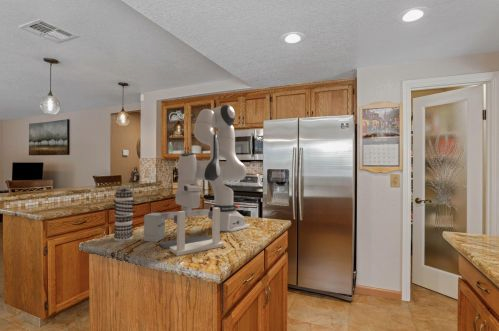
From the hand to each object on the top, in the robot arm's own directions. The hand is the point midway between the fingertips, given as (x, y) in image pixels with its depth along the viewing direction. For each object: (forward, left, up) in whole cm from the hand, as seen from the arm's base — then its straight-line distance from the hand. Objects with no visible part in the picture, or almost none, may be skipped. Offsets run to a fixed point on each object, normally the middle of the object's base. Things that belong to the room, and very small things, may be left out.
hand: (186, 215), depth 126 cm
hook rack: (0, +11, -13) cm, 17 cm away
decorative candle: (+23, -23, -13) cm, 35 cm away
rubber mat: (0, 0, -13) cm, 13 cm away
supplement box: (+11, -13, -13) cm, 21 cm away
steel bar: (0, 0, 0) cm, 0 cm away
